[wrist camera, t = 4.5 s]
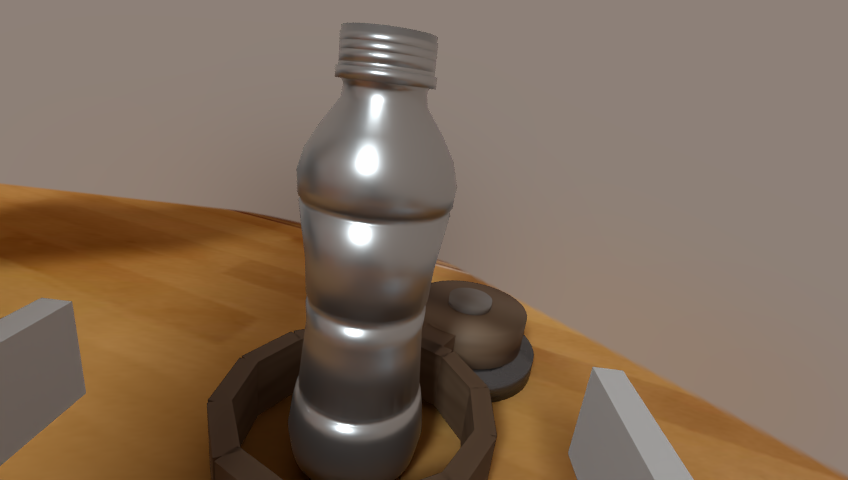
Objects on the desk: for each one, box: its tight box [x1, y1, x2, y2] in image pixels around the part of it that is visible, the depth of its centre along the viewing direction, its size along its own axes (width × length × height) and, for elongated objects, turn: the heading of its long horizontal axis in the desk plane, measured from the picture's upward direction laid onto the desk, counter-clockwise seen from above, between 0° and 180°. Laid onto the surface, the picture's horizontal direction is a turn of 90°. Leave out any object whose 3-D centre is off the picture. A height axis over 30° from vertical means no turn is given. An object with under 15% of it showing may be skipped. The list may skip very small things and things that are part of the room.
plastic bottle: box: [288, 23, 457, 480], centre depth 19 cm, size 6×7×20 cm
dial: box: [207, 281, 527, 480], centre depth 26 cm, size 22×13×4 cm, turn 148°
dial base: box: [472, 335, 534, 402], centre depth 32 cm, size 10×10×2 cm
